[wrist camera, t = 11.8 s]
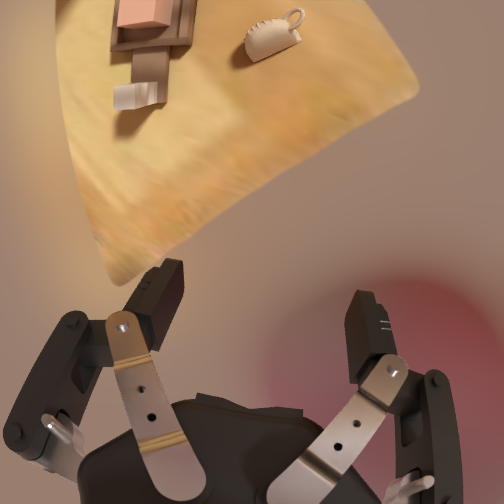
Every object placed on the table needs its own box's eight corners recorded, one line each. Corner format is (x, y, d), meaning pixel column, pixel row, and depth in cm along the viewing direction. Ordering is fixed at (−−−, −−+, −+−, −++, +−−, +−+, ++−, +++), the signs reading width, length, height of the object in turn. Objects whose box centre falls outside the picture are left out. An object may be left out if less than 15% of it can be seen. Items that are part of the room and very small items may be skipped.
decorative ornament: (238, 37, 29) (228, 31, 24) (298, 12, 26) (299, 2, 21) (252, 63, 31) (245, 60, 26) (313, 38, 28) (316, 31, 23)
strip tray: (127, -14, 24) (98, -24, 18) (200, -25, 23) (181, -42, 17) (117, 103, 35) (88, 111, 29) (187, 102, 34) (166, 109, 28)
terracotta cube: (140, -2, 25) (121, -8, 21) (174, -7, 24) (158, -15, 20) (136, 29, 28) (116, 26, 24) (170, 25, 27) (153, 20, 23)
